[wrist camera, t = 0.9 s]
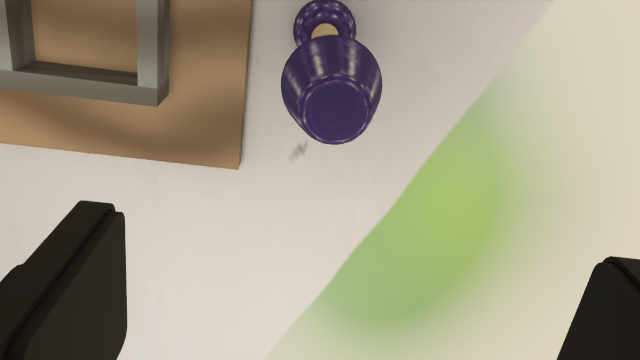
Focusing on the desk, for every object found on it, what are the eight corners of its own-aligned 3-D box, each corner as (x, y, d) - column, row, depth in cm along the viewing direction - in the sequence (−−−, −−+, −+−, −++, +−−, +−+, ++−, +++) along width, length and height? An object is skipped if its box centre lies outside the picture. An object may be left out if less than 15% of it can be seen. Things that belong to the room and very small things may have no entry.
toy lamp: (370, 48, 36) (414, 129, 21) (312, 82, 37) (314, 182, 22) (336, -15, 35) (356, 23, 19) (276, 22, 35) (251, 86, 20)
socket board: (-87, -200, 30) (-150, -221, 26) (263, -145, 31) (256, -157, 27) (-35, 130, 38) (-76, 153, 34) (240, 161, 40) (232, 187, 36)
